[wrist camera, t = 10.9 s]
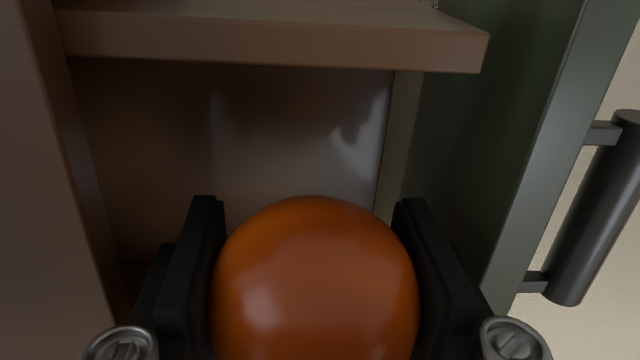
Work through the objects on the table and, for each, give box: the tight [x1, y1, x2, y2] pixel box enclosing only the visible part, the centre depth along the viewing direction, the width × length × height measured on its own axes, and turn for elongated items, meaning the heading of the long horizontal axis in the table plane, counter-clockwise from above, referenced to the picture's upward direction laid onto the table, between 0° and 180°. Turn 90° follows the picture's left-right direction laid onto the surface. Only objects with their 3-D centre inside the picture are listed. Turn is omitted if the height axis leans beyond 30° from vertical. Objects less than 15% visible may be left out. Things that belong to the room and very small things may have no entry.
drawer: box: [51, 0, 640, 360], centre depth 13 cm, size 19×14×7 cm
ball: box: [208, 195, 421, 360], centre depth 9 cm, size 5×5×5 cm
